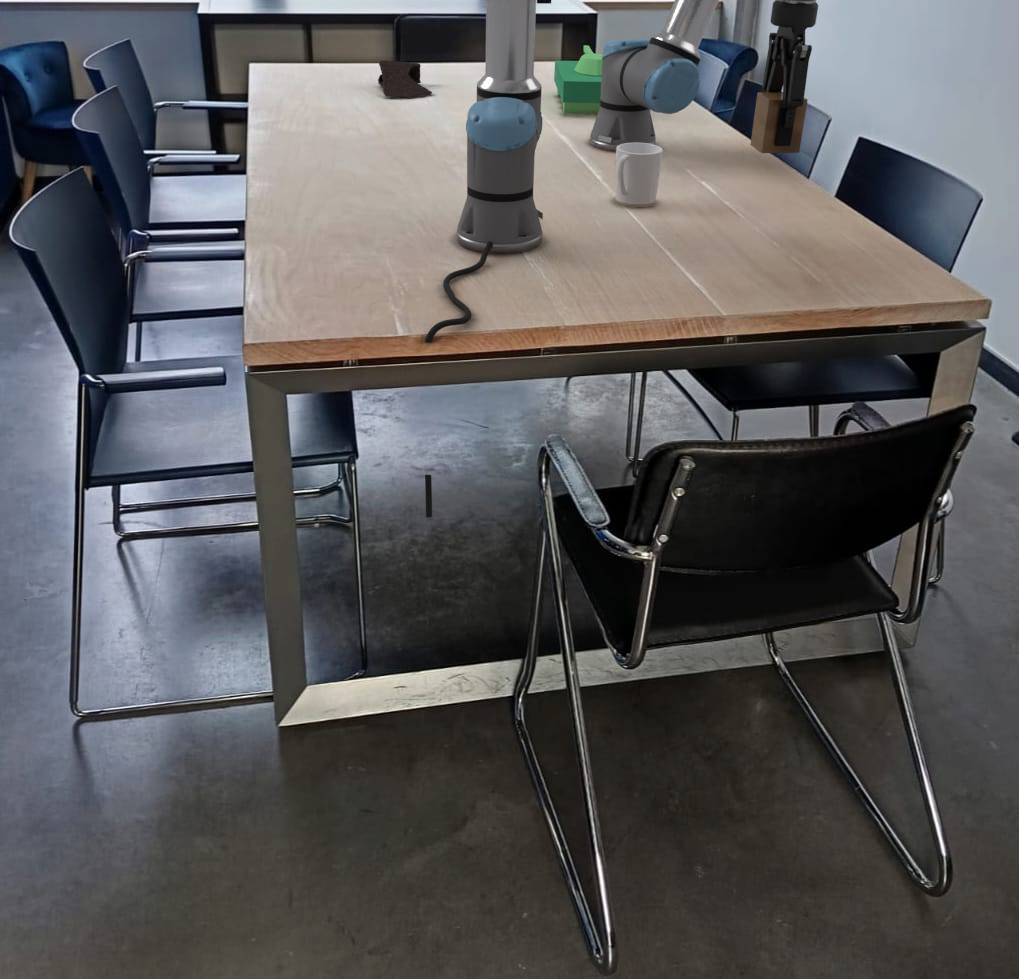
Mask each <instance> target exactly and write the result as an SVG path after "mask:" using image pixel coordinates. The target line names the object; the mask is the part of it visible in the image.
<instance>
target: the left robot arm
mask: <svg viewBox="0 0 1019 979" xmlns="http://www.w3.org/2000/svg"><path fill="white" fill-rule="evenodd" d="M485 3H486V4H485V6H486V8H485V70H484V71H485V73H484V75H483V76H482V77H481V78H479V80H478V81H477V83H476V101H475V103H473V104H472V105H471V106H470V107H469V109H468V111H467V117H466V118H467V119H466V122H465V131H466V192H467V193H466V198H465V202H464V205H463V209H462V211H461V214H460V218H459V220H458V224H457V227H456V241H457V243H458V244H459V245H461V246H462V247H464V248H466V249H468V250H470V251H475V252H479V253H481V255H480V259H479V261H477V263H476V264H473V265H471V266H469V267H465V268H461V269H457V270H455V271H452V272H450V273H448V275H446V276H445V278H444V279H443V282H442V284H443V285H442V286H443V290H444V291H445V293H446V295H447V297H448V298H449V300H450V302H451V303H452V304H453V305H454V306H456V307H457V308H458V309H460V310H461V311H462V312H463V313H464V316H462V317H456V318H449V319H444V320H440V321H438V322H437V323H436V324H434V325H433V326H432V327H431V328H430V329H429V330H428V332H427V334H426V336H425V338H424V343H426V344H428V343H429V344H430V343H432V341H433V339H434V337H435V336H436V334H437V333H438V332H439V331H440V330H442V329H444V328H447V327H451V326H459V325H465V324H467V323H468V322H469V321H470V320H471V319H472V311H471V309H470V308H469V307H468V306H467V305H466V304H465V303H464V302H462V301H461V300H460V299H458V298H457V296H456V294H455V293H454V291H453V289H452V288H451V285H450V283H451V281H453V280H454V279H456V278H459V277H462V276H466V275H469V274H472V273H474V272H477V271H479V270H481V269H482V268H483V266H484V265H485V264H486V262H487V259H488V256H489V254H497V255H499V254H500V255H506V254H507V255H508V254H517V253H524V252H527V251H530V250H533V249H536V248H538V247H539V246H540V245H541V244H542V243H543V229H542V224H541V221H540V220H543V219H544V213H543V212H542V211H540V210H539V209H537V206H536V204H535V199H534V183H535V181H534V180H535V158H536V156H535V155H536V149H537V145H538V143H539V140H540V138H541V134H542V131H543V115H542V89H543V88H542V83H541V82H540V81H539V80H538V79H537V78H536V77H535V75H534V73H535V72H534V70H535V43H536V17H537V16H536V14H537V0H486V2H485ZM818 12H819V4H818V2H817V0H774V1H773V2H772V7H771V14H770V24H771V25H773V26H775V27H777V31H776V32H770V33H769V35H768V48H767V49H768V50H767V56H766V60H765V61H766V62H765V67H764V73H763V80H762V85H761V91H762V92H783V104H780V105H778V106H779V108H780V109H779V116H778V122H777V129H776V136H775V143H774V145H775V146H790V145H791V138H792V132H793V125H794V119H795V112H796V108H798V107H800V106H803V101H804V98H805V94H806V93H805V92H806V86H807V85H806V84H807V77H808V71H809V64H810V63H809V62H810V57H811V54H812V51H813V46H812V44H806V30H807V29H808V28H813V27H814V26H816V24H817V17H818ZM424 485H425V488H424V490H425V517H426V518H432V517H433V486H432V474H424Z"/></svg>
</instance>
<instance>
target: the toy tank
mask: <svg viewBox="0 0 1019 979" xmlns="http://www.w3.org/2000/svg"><path fill="white" fill-rule="evenodd" d="M602 56H603V53H594V52H593V50H592V49H591V47H590V45H586V44H585V45H583V55H581V57H580V58H579V60H554V73H553V74H554V75H553V81H554V83H555V87H556V89H557V90H556V91H557V92H556V94H557V97H560V101H561V103H562V113H563V114H565V115H568V114H569V115H570V114H571V115H574V114H575V115H598V112H599V109H600V96H601V78H602Z"/></svg>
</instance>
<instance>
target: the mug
mask: <svg viewBox="0 0 1019 979" xmlns="http://www.w3.org/2000/svg"><path fill="white" fill-rule="evenodd" d="M663 152H664V151H663V148H662V147H661V146H659V145H657V144H655V145H653V144H648V143H624V144H620V145H618V146H617V148H616V151H615V153H616V154H615V188H614V189H615V191H614V192H615V194H614V199H615V202H616V203H617V204H619V205H621V206H626V207H630V208H631V207H632V208H645V207H651V206H653V205H654V204H655V203H656V202H657V195H658V188H659V180H660V173H661V166H662V158H663Z"/></svg>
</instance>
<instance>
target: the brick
mask: <svg viewBox="0 0 1019 979" xmlns="http://www.w3.org/2000/svg"><path fill="white" fill-rule="evenodd" d="M808 101H809V100H808V98H806V97H804V101H803V106H800V107H798V108H796V112H795V119H794V125H793V132H792V138H791V145H790V146H775V145H774V143H775V136H776V129H777V122H778V116H779V109H780V108H779V106H778V105H780V104H783V91H781V92H766V91H762V92H761V91H760V92H759V91H758V92H757V94H756V102H755V109H754V117H753V123H752V130H751V136H750V137H751V139H750V146H751V147H753V148H754V149H755V150H756V151H758V152H759V153H760V154H799V153H800V151H801V150H800V149H801V144H802V138H803V131H804V125H805V119H806V112H807V106H808Z"/></svg>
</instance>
